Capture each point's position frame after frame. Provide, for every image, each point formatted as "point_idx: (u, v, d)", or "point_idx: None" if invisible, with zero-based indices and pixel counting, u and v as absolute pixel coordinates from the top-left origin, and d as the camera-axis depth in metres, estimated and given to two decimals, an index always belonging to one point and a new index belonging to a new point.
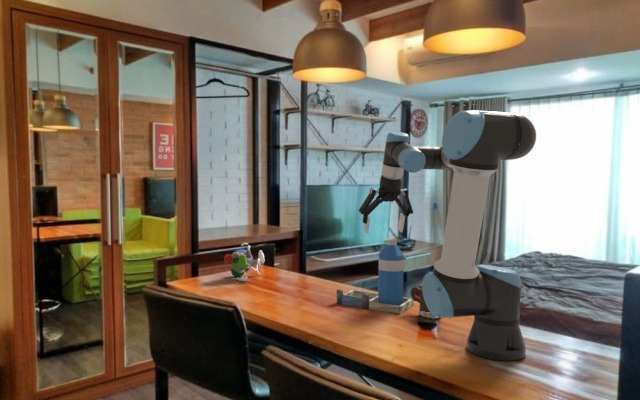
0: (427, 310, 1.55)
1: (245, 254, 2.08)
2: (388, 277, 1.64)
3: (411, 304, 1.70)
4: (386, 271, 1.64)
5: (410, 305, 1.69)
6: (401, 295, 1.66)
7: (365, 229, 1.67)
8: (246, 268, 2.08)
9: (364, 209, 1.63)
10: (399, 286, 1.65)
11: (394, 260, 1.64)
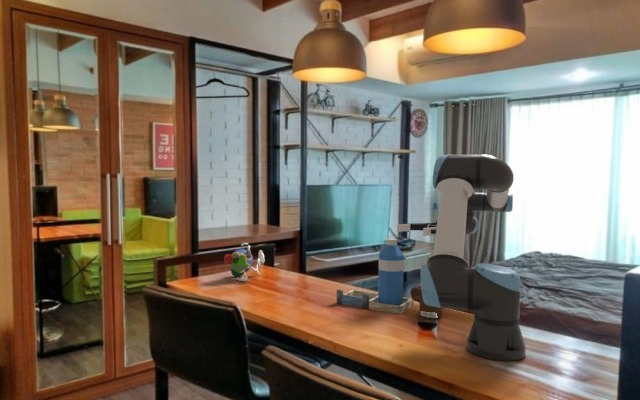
0: (427, 310, 1.55)
1: (245, 254, 2.08)
2: (389, 277, 1.64)
3: (411, 304, 1.70)
4: (386, 271, 1.64)
5: (410, 305, 1.69)
6: (401, 295, 1.66)
7: None
8: (246, 268, 2.08)
9: (410, 223, 1.85)
10: (399, 286, 1.65)
11: (394, 260, 1.64)
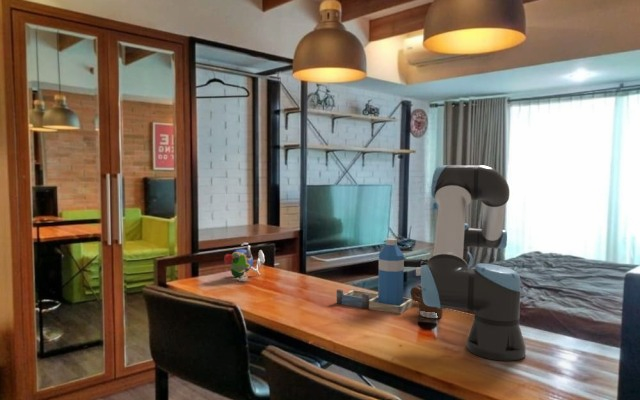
0: (427, 310, 1.55)
1: (245, 254, 2.08)
2: (389, 277, 1.64)
3: (411, 304, 1.70)
4: (386, 271, 1.64)
5: (410, 305, 1.69)
6: (401, 295, 1.66)
7: None
8: (246, 268, 2.08)
9: (404, 259, 1.85)
10: (399, 286, 1.65)
11: (394, 260, 1.64)
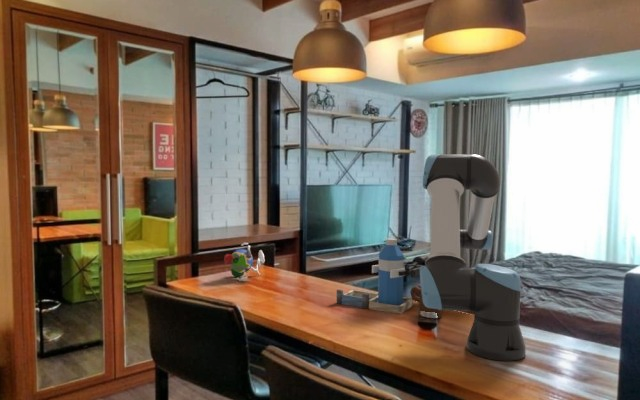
0: (427, 310, 1.55)
1: (245, 254, 2.08)
2: (389, 277, 1.64)
3: (411, 304, 1.70)
4: (386, 271, 1.64)
5: (410, 305, 1.69)
6: (401, 295, 1.66)
7: None
8: (246, 268, 2.08)
9: None
10: (399, 286, 1.65)
11: (394, 260, 1.64)
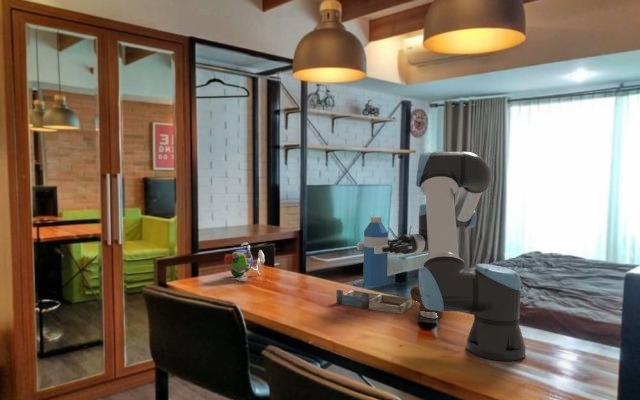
0: (427, 310, 1.55)
1: (245, 254, 2.08)
2: (373, 253, 1.68)
3: (411, 304, 1.70)
4: (370, 247, 1.68)
5: (410, 305, 1.69)
6: (385, 271, 1.70)
7: None
8: (246, 268, 2.08)
9: None
10: (383, 262, 1.69)
11: (379, 237, 1.68)
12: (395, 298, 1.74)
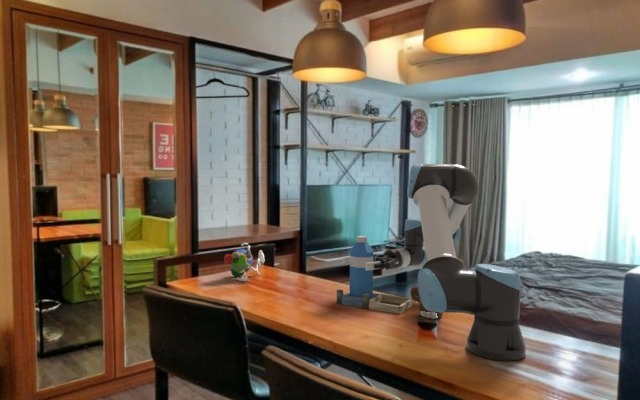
0: (427, 310, 1.55)
1: (245, 254, 2.08)
2: (358, 273, 1.70)
3: (411, 304, 1.70)
4: (356, 267, 1.71)
5: (410, 305, 1.69)
6: (371, 290, 1.72)
7: None
8: (246, 268, 2.08)
9: None
10: (368, 282, 1.71)
11: (364, 257, 1.70)
12: (395, 298, 1.74)
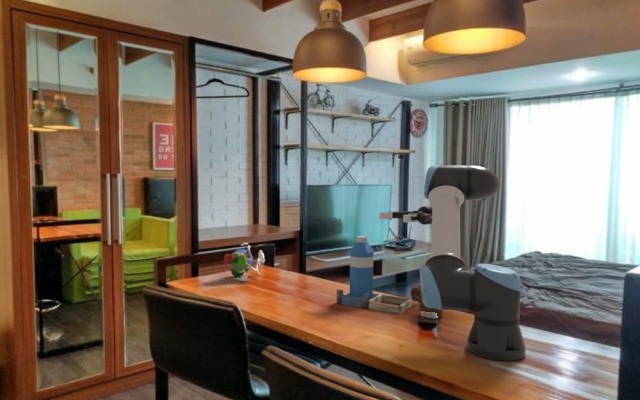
0: (427, 310, 1.55)
1: (245, 254, 2.08)
2: (358, 273, 1.70)
3: (411, 304, 1.70)
4: (356, 267, 1.71)
5: (410, 305, 1.69)
6: (371, 291, 1.72)
7: None
8: (246, 268, 2.08)
9: None
10: (368, 282, 1.71)
11: (364, 257, 1.70)
12: (395, 298, 1.74)
